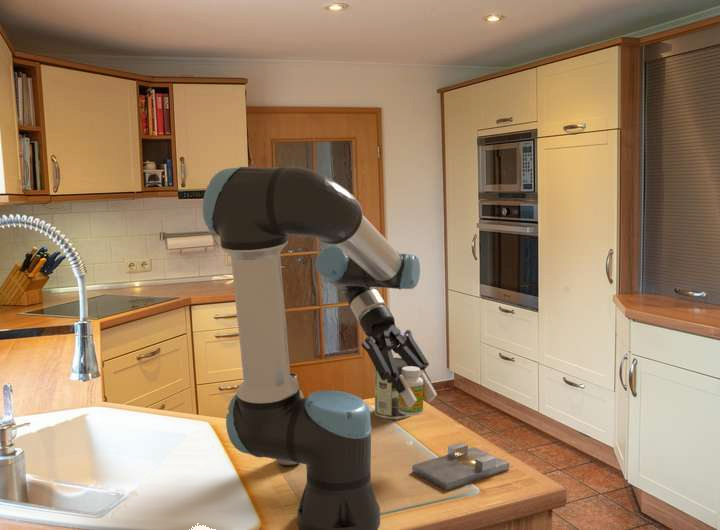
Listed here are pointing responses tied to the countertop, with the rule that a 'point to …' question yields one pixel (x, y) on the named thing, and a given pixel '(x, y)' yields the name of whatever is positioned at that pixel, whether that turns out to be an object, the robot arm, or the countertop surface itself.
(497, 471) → the hinge plate
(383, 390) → the coffee can
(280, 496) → the countertop surface
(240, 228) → the robot arm
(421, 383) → the supplement bottle
